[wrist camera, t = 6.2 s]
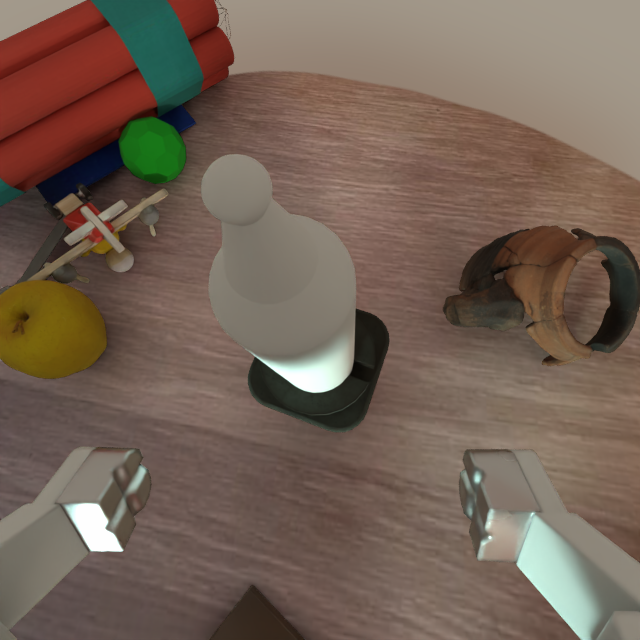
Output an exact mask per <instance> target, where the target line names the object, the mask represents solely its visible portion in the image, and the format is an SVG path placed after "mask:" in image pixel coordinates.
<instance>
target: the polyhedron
mask: <svg viewBox="0 0 640 640" xmlns="http://www.w3.org/2000/svg"><path fill="white" fill-rule="evenodd" d="M118 142H119V148H120V153H121V157H122V160H123V162H124V165H125V166H126V167H127V168H128V169H129V170H130V172H131V173H132V174H133V175H134V176H136V177H138V178H140V179H142V180H145V181H148V182H151V183H154V184H158V183H165V182H168V181H170V180H173V179H175V178H176V177H177V176H178V175H179V174H180V172H181V171H182V170H183V168H184V165H185V162H186V147H185V145H184V142H183V140H182V138H181V136H180V135H179V134H178V132H177V131H176V129H175V128H174V127H173V126H171V125H169V124H167V123H165V122H163V121H161V120H159V119H157V118H155V117H152V116H151V117H144V118H139V119H135V120H132V121H129V122H128V124H127V125H126V127H125V128H124V130H123V131H122V134H121V136H120V139H119V141H118Z"/></svg>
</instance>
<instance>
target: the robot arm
mask: <svg viewBox="0 0 640 640" xmlns="http://www.w3.org/2000/svg"><path fill="white" fill-rule="evenodd" d="M142 459H143V456H142V454H141V452H140V449H137V448H115V447H78V448H76V449H75V450H73V451H72V452H71V453H70V455H69V456H68V457H67V459H66V460H65V461H64V463H63V464H62V465H61V466H60V468H59V469H58V470H57V472H56V473H55V474H54V476H53V477H52V478H51V480H50V481H49V482H48V483H47V485H46V486H45V487H44V489H43V490H42V491H41V493H40V494H39V495H38V496H37V498H36V499H35V500H34V502H33V503H32V504H25V505H23V506H22V507H20V508H19V509H17V510H16V511H14V512H13V513H11V514H10V515H8V516H6V517H5V518H3V519H2V520H0V640H18V639H17V638H16V637H15V636H14V635H13V634H12V633H11V632H10V631H9V630H10V629H11V628H12V627H13V626H14V625H15V624H16V623H17V622H18V621H19V620H21V619H22V618H23V617H24V616H25V615H26V614H27V613H28V612H29V611H30V610H31V609H32V608H33V607H34V606H35V605H36V604H37V603H38V602H39V601H40V600H41V599H42V598H43V597H44V596H45V595H46V594H48V593H49V592H50V591H51V590H52V589H53V588H54V587H55V586H56V585H57V584H58V583H59V582H60V581H61V580H62V579H63V578H64V577H65V576H66V575H67V574H68V573H69V572H70V571H71V570H72V569H73V568H75V567H76V566H77V565H78V564H79V563H80V562H81V561H82V560H83V559H84V558H85V557H86V556H87V555H88V554H89V552H88V551H123V550H124V548H125V546H126V544H127V542H128V540H129V538H130V536H131V534H132V532H133V530H134V528H135V526H136V522H135V518H134V516H135V515H136V514H137V513H138V512H140V511H141V510H142V509H143V508H144V507H145V505H146V503H147V500H148V498H149V495H150V490H151V476H150V473H149V470H148V469H147V468H145V467H144V466H143V465H141V464H140V463H141V461H142ZM463 463H464V466H465V469H464V470H463V471H462V472H461V473H460V479H459V494H460V500H461V505H462V508H463V512H464V514H465V515H466V516H467V517H468V518H469V519H470V520H471V525H470V529H469V533H470V537H471V540H472V544H473V547H474V551H475V554H476V557H477V561H496V562H514V563H517V564H516V565H517V566H518V567H519V568H520V570H521V571H522V572H523V573H524V574H525V575H526V576H527V578H528V579H529V580H530V581H531V582H532V583H533V585H534V586H535V587H536V588H537V589H538V590H539V591H540V593H541V594H542V595H543V596H544V597H545V598H546V600H547V601H548V602H549V603H550V604H551V605H552V606H553V608H554V609H555V610H556V611H557V612H558V613H559V615H560V616H561V617H562V618H563V619H564V620H565V621H566V623H567V624H568V625H569V626H570V627H571V628H572V630H573V631H574V632H575V633H576V634H577V635H578V636H579V638H580V639H581V640H640V563H639V562H638V561H636V560H635V559H634V558H632V557H631V556H630V555H629V554H627V553H626V552H625V551H624V550H622V549H621V548H620V547H618V546H617V545H616V544H615V543H613V542H612V541H611V540H609V539H608V538H607V537H606V536H604V535H603V534H602V533H600V532H599V531H598V530H597V529H595V528H594V527H593V526H591V525H590V524H589V523H588V522H586V521H585V520H584V519H582V518H581V517H580V516H579V515H577V514H576V513H568V511H567V509H566V507H565V505H564V504H563V502H562V500H561V498H560V496H559V494H558V492H557V491H556V489H555V487H554V485H553V483H552V481H551V479H550V478H549V476H548V474H547V472H546V470H545V468H544V466H543V465H542V463H541V461H540V459H539V457H538V455H537V453H536V452H534V451H533V450H508V449H467V450H466V451H465V453H464V457H463Z"/></svg>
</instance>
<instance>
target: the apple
mask: <svg viewBox="0 0 640 640" xmlns="http://www.w3.org/2000/svg"><path fill="white" fill-rule="evenodd" d="M106 346H107V337H106V328H105V323H104V320H103V318H102V316H101V314H100V312H99V310H98V308H97V307H96V306H95V305H94V303H93V302H92V301H91V300H90V299H89V298H88V297H87V296H86V295H84V294H83V293H82V292H80V291H78V290H77V289H75V288H73V287H71V286H68V285H65V284H62V283H59V282H55V281H49V280H31V281H25V282H21V283H19V284H16V285H14V286H12V287H10V288H8V289H7V290H6V291H5V292H3V293H2V294H1V295H0V359H1V360H2V361H3V362H4V363H5V364H6V365H8V366H9V367H11V368H13V369H15V370H18V371H20V372H23V373H26V374H28V375H31V376H34V377H38V378H45V379H56V378H62V377H66V376H69V375H71V374H73V373H76V372H79V371H82V370H84V369H86V368H88V367H90V366H91V365H92V364H94V363H95V362H96V360H97V359H98V358H99V356H100V355H101V354H102V353H103V352H104V350H105V349H106Z"/></svg>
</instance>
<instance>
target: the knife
mask: <svg viewBox="0 0 640 640" xmlns="http://www.w3.org/2000/svg"><path fill="white" fill-rule="evenodd" d="M81 200H82V199H81ZM81 200H80V201H81ZM65 217H66V216H63V217H62V218H61V219H60V221H59V222H58V223H57V225H56V226H55V228H54V229H53V230H52V232H51V233H50V235H49V236H48V238H47V239H46V241H45V242H44V244H43V245H42V247H41V248H40V250H39V251H38V253H37V254H36V256H35V257H34V259H33V260H32V262H31V263H30V265H29V267H28V268H27V270H26V271H25V273H24V275H23V276H22V278H21V279H20V280H18V281H17V283H16V284H19V283H21V282H25V281H27V280H28V279H29V278H31V277H32V276H33V275H35V274H36V273H38V272H39V271H40V270H41V268H42V267H43V265H44V263H45V262H46V260H47V259H48V257H49V256H50V254H51V253H52V251H53V250H54V248H55V246H56V245H57V243H58V242H59V240H60V239H61V237H62V235H63V234H64V232H65V231H66V229H67V228H68V226H67V225H66V224H65V223H64V221H63V219H64V218H65ZM16 284H15V285H16ZM13 286H14V285H13ZM10 287H11V286H6V287H4V288H2V289H0V295H1V294H2V293H3V292H5V291H6V290H7V289H8V288H10Z"/></svg>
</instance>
